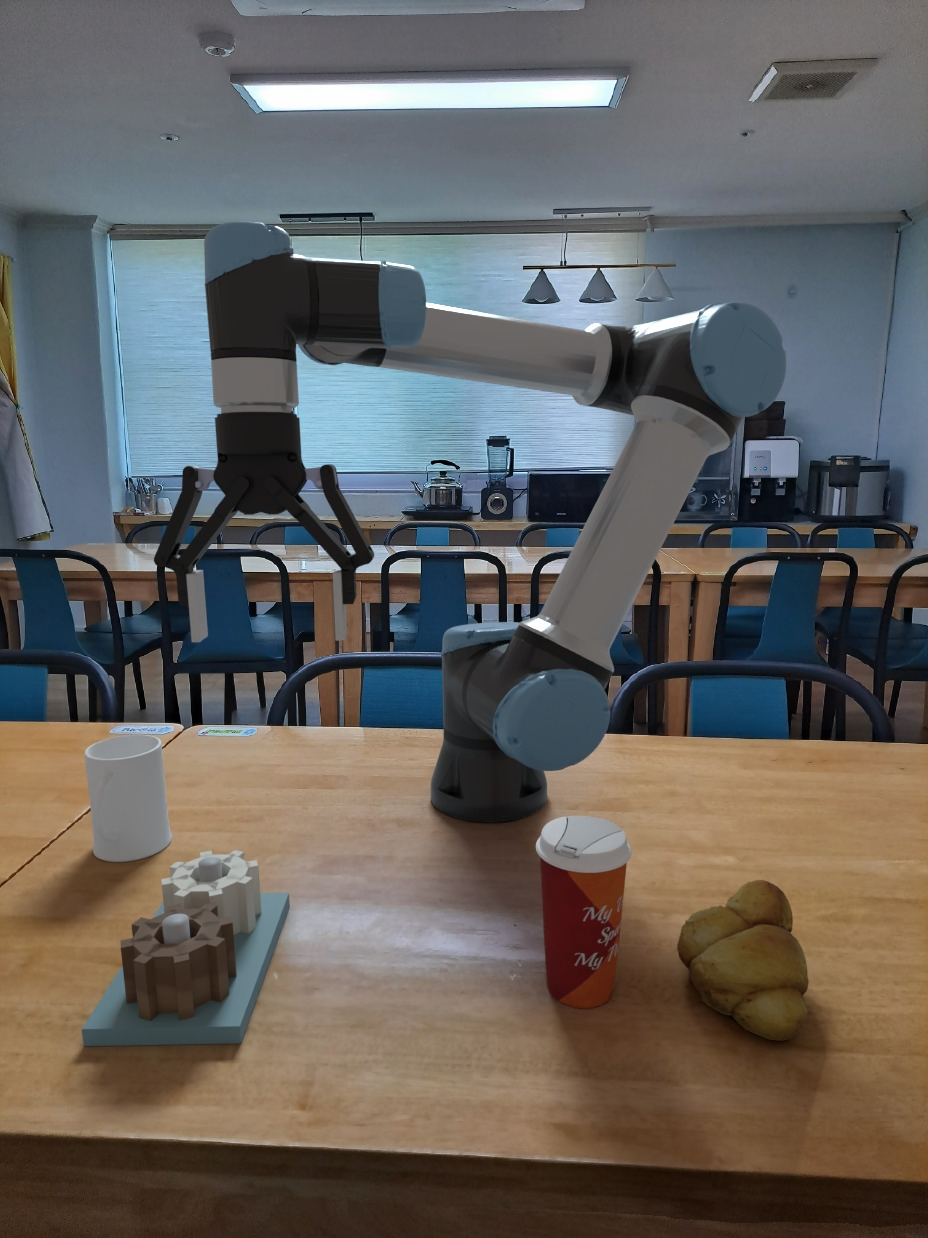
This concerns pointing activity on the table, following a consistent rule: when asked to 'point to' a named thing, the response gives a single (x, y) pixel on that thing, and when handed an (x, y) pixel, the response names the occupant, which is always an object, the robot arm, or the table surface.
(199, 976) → the walnut gear
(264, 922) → the gear board
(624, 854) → the paper cup
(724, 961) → the bread roll
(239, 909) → the cream gear
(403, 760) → the table surface
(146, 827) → the mug
